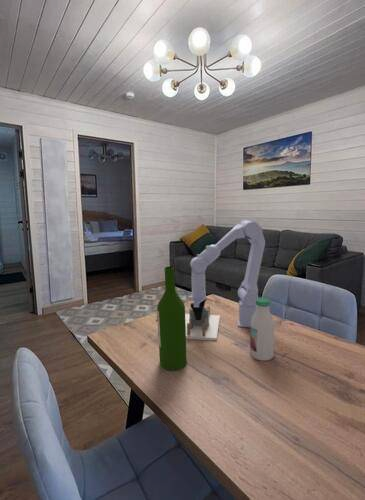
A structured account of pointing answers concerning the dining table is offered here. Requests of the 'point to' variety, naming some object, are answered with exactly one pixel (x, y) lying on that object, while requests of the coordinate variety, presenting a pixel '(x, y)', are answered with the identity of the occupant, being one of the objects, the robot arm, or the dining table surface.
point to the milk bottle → (262, 331)
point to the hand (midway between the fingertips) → (199, 317)
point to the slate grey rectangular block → (204, 314)
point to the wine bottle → (171, 326)
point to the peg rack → (202, 328)
